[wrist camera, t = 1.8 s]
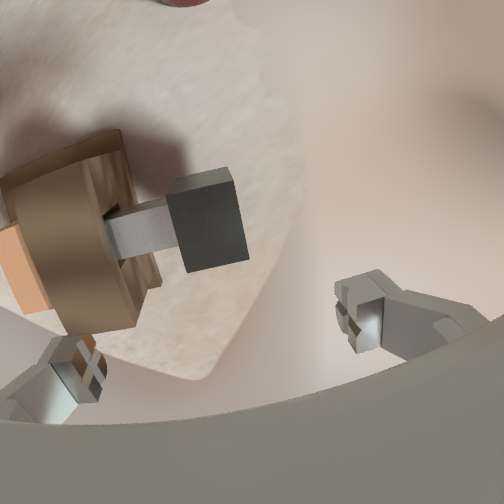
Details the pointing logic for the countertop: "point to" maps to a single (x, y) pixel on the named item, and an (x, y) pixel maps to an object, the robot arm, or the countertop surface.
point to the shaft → (185, 223)
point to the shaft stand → (81, 233)
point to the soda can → (183, 2)
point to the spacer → (22, 270)
